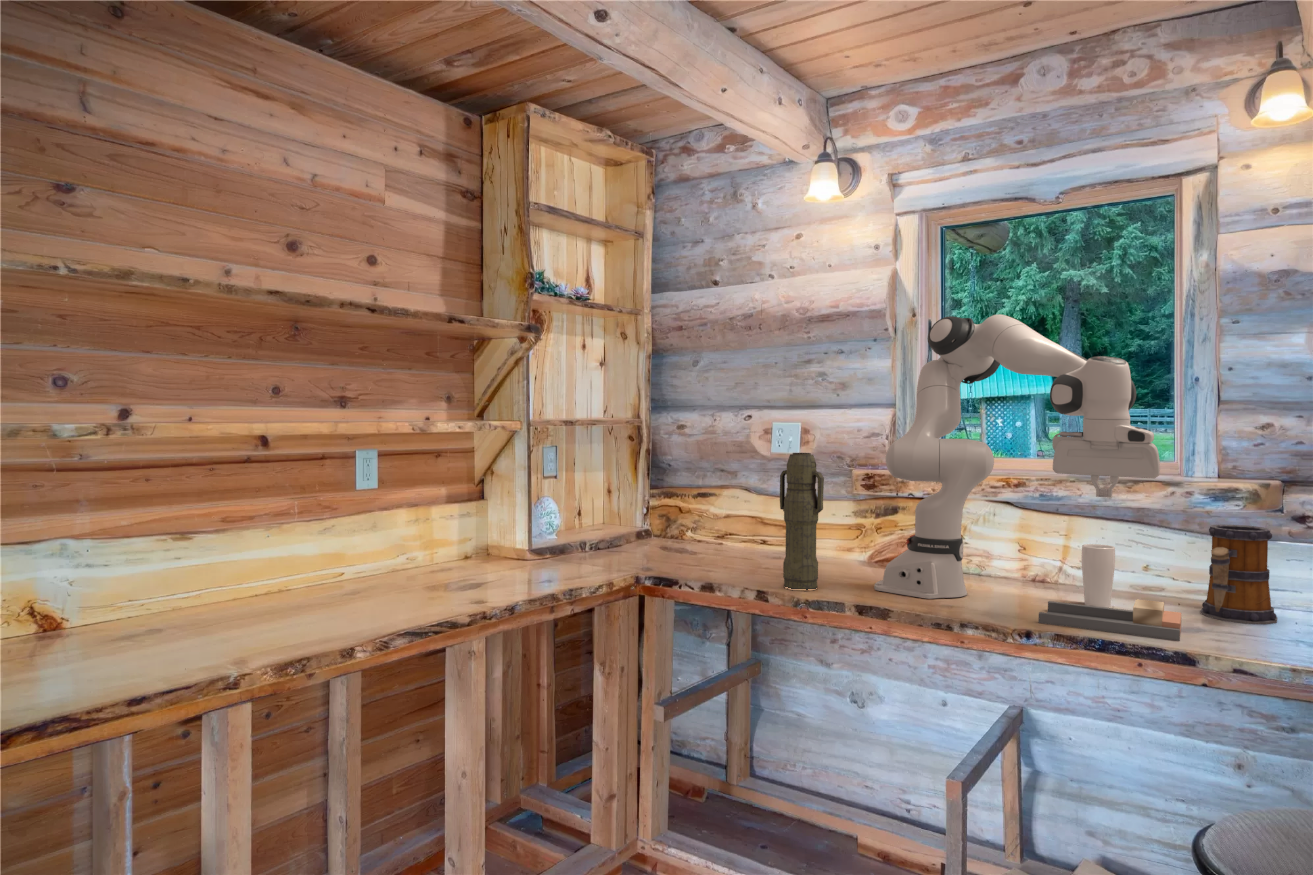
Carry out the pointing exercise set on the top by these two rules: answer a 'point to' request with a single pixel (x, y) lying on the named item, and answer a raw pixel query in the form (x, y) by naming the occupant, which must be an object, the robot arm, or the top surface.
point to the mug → (1239, 575)
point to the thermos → (801, 520)
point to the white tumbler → (1098, 574)
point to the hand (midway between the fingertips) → (1104, 497)
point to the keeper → (1148, 612)
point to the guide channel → (1109, 620)
